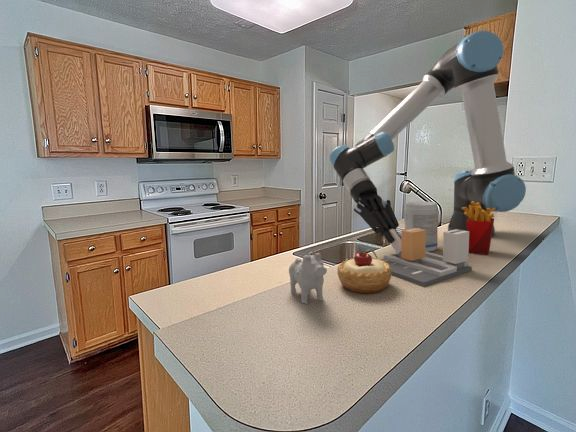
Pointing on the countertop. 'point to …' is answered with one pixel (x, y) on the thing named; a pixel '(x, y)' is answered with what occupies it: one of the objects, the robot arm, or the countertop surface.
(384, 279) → the pastry
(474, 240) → the french fries
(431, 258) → the console board
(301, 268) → the dog figurine
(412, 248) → the fader knob
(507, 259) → the countertop surface
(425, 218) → the supplement tub
